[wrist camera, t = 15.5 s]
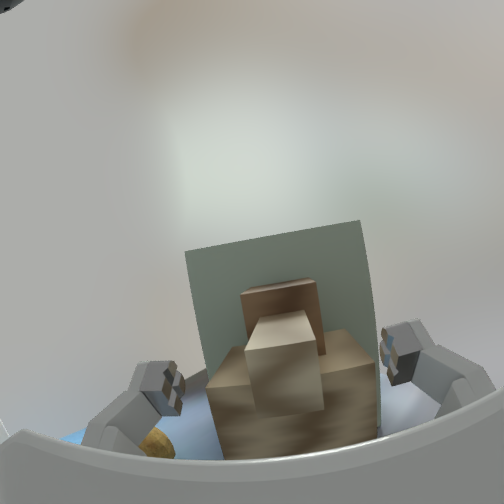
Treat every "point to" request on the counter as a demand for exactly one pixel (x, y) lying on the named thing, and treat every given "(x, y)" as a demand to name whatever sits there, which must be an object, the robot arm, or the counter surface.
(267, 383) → the walnut handle block
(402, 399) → the counter surface
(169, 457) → the potato
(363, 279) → the large sage green box
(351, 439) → the low oak block
